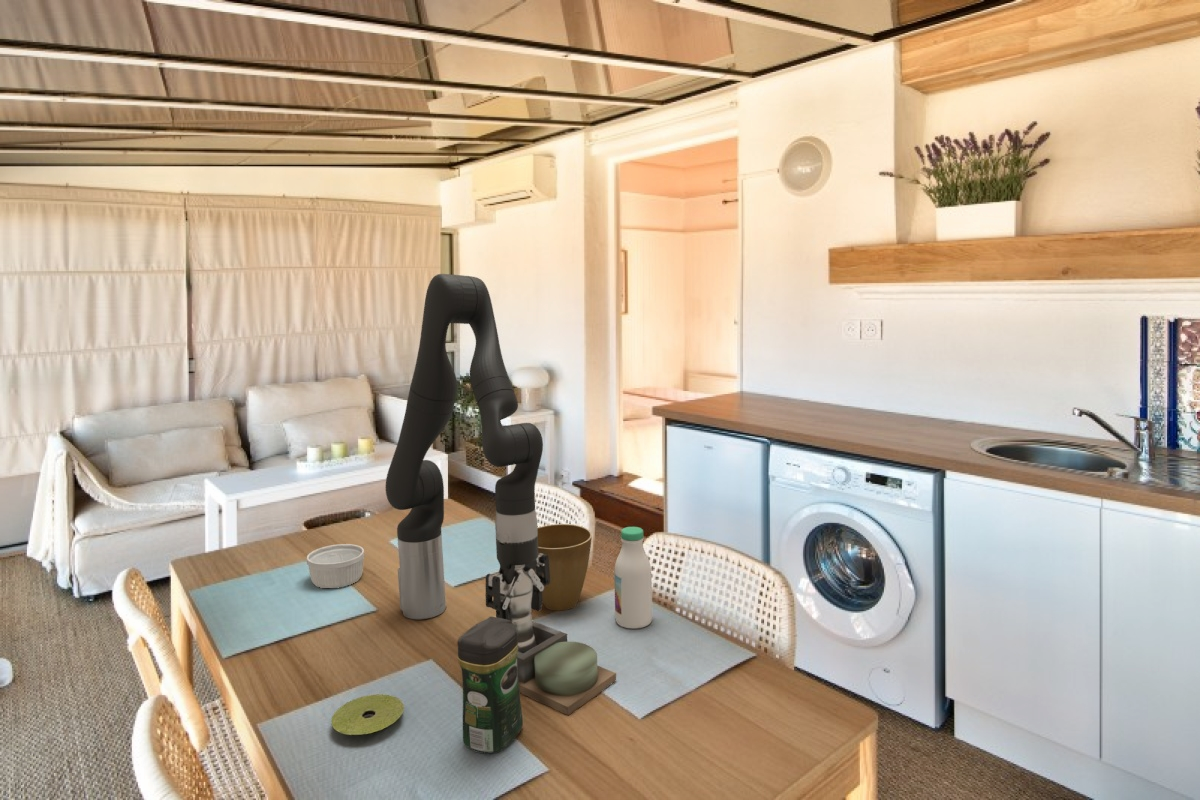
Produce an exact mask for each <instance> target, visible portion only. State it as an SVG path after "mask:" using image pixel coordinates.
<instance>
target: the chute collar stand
mask: <svg viewBox="0 0 1200 800" xmlns="http://www.w3.org/2000/svg"><path fill="white" fill-rule="evenodd" d="M532 626H533V634H534V636H535V640H536V646H535V647H534V648H532V649H530V650H528V651H527V652H525V653H521V652H518V653H517V672H518V683H519V693H520V694H521V695H524V696H526V697H528V698H530V699H533V700H535V701H537V702H538V703H541V704H543V705H545V706H547V707H549V708H552V709H554V710H556V711H558V712H561V713H562V714H564V715H567V716H570V715H571V714H572V713H573V712H575V711H577V710H578V709H579V708H581V707H582V706H583V705H585V704H586V703H587V702H589V701H590V700H592V699H593V698H594V697H596V696H597V695H599V694H600V693H601V692H603V691H605V688H606V687H607V686H608V687H610V686H611V685H612V684H614V683H615V682H616V681H617V672H615V671H612V670H609V669H608V668H607V669H606V668H605V667H602V666H599V665H598V653H597V651H596V649H594V648H593V647H592V646H591V645H588V644H586V643H583V642H580V641H579V642H578V641H568V633H566V632H563V631H561V630H557V629H555V628H552V627H550V626H547V625H544V624H542V623H539V622H537V621H534V620H532ZM615 680H616V681H615ZM614 681H615V682H614ZM613 682H614V683H613ZM611 683H612V684H611ZM610 684H611V685H610ZM609 685H610V686H609ZM608 687H607V688H608ZM607 688H606V689H607ZM602 690H603V691H602Z"/></svg>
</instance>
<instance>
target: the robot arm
mask: <svg viewBox="0 0 1200 800" xmlns="http://www.w3.org/2000/svg"><path fill="white" fill-rule="evenodd" d="M423 306H424V308H423V312H422V313H423V314H422V321H421V322H422V323H421V332H420V339H419V346H418V351H417V354H416V355H417V357H416V360H415V361H416V362H415V365H414V371H413V375H412V379H411V383H410V386H409V390H408V391H409V392H408V396H407V401H406V406H405V413H404V417H403V420H402V425H401V429H400V433H399V436H398V440H397V444H396V448H395V451H394V453H393V455H392V459H391V462H390V465H389V468H388V471H387V474H386V479H385V495H386V498H387V500H388V503H389V504H390V506H391V507H392V508H394V509H396V510H399V511H404V510H405V511H406V510H409V512H408V514H407V515H406V516H405V517H403V519H402V520H401V521H400V522H399V523H398V524H397V527H396V529H397V530H396V533H397V534H396V535H397V548H398V549H397V550H398V562H399V568H398V569H397V578H398V579H397V580H398V581H397V582H398V595H399V608H400V610H401V611H402V615H403V616H404V617H405V618H407V619H411V620H428V619H431V618H434V617H437V616H439V615H441V614H442V613H444V612H445V611H446V608H447V605H446V603H447V601H446V588H445V587H446V586H445V585H446V584H445V571H444V570H445V569H444V552H443V550H444V549H443V537H442V536H443V535H442V526H443V523H444V520H445V519H444V516H445V491H444V489H445V487H444V486H445V485H444V478H443V475H442V474H443V473H442V471H441V470H440V468H439V466H438V465H437V464H436V463H435V462H434V461H432V460H429V459H425V457H426V455H427V453H428V451H429V450H430V448H431V447H432V446H433V444H434V443H435V441H436V440H437V439H438V437H439V436H440V434H441V433H442V432H443V431H444V429H445V428H446V426H447V424H448V423H449V421H450V419H451V418H452V415H453V410H454V407H455V404H456V399H457V396H458V391H459V388H458V386H459V385H458V384H459V383H458V379H457V375H456V374H455V370H454V368H453V366H452V363H451V361H450V359H449V355H448V352H447V347H446V346H447V345H446V344H447V333H448V329H449V326H450V324H460V325H469V326H470V328H471V330H472V333H473V335H474V338H475V347H474V350H473V351H474V352H473V356H472V359H471V362H470V367H469V381H470V387H471V390H472V393H473V396H474V398H475V401H476V404H477V407H478V410H479V415H480V416H479V417H480V424H481V434H482V435H481V442H482V452H483V455H484V458H485V459H486V460H487V462H488V463H489V464H490V465H492V466H494V467H497V468H503V467H508V466H514V465H515V466H514V468H513V470H512V471H511V472H510V473H508V474H506V475H504V476H502V477H501V478H499V479H498V480H497V481H496V482H495V485H494V489H495V490H494V491H495V492H494V496H495V497H494V499H495V519H494V520H495V521H494V524H495V547H496V549H495V551H496V559H497V561H498V564H499V569H498V572H496V573H494V574H490V573H487V574H486V575H485V606H486V607H487V608H489V609H493V610H494V611H495V617H497V618H502V619H507V620H509V612H508V608H507V607H508V604H509V602H510V599H511V598H513V597H514V595H513V591H514V587H515V584H516V582H519V581H520V580H521V579H522V578H523V573H520V572H517V570H515V566H517V565H525V567H524V568H523V570H524V571H525V572H526V573H527V574H528V575H529V577H530V578H531V579H532V582H533V592H532V602H531V610H533V611H537V612H539V611H541V610H543V609H542V608H543V607H542V606H543V605H544V603H543V598H542V591H543V590H544V586H545V585H549V584H550V570H549V557H548V555H545V554H542V553H538V531H537V528H538V518H537V513H536V512H537V511H536V498H535V497H536V496H535V493H536V492H535V489H536V488H535V487H536V483H537V477H538V471H539V469H540V464H541V460H542V456H543V452H544V450H543V449H544V448H543V447H544V442H543V437H542V433H541V432H540V429H539V428H538V427H537V426H536V425H535V424H534V423H531V422H520V423H516V424H507V425H503V424H502V422H501V421H502V420H505V419H507V418H509V417H511V416H512V415H513V414H514V413H516V412H517V411H518V408H519V402H518V399H517V395H516V393H515V390H514V387H513V384H512V382H511V379H510V376H509V374H508V372H507V368H506V366H505V362H504V358H503V355H502V350H501V345H500V339H499V333H498V329H497V328H498V327H497V324H496V323H497V322H496V319H495V312H494V308H493V303H492V299H491V295H490V292H489V289H488V287H487V285H486V283H485V282H484V280H482V279H481V278H480V277H476V276H469V275H463V274H462V275H459V274H450V273H448V274H447V273H438V274H436V275H434V276H433V277H432V278H431V280H430V281H429V284H428V287H427V290H426V293H425V298H424V305H423ZM535 569H536V574H535ZM542 573H543V574H544V577H543V574H542ZM514 577H515V578H514ZM513 579H514V582H513V584H512V586H511V588H510V590H509V591H501V590H500V586H501V585H502V583H501V581H502V582H504V581H505V582H506V583H507V584H511V583H512V581H513ZM501 594H504V595H505V597H504V600H503V602H502V601H501V600H502V597H501Z"/></svg>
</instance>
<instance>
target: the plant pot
mask: <svg viewBox="0 0 1200 800" xmlns="http://www.w3.org/2000/svg"><path fill="white" fill-rule="evenodd" d="M537 531H538V553H542V554H545V555H548V557H549V570H550V584H549V585H545V586H544V590H543V591H542V598H543V605H544V607H545V608H546V609H548V610H550V611H554V612H555V611H559V612H560V611H568V610H571V609H573V608H574V607H576V606H577V604H578V602H579V599H580V596H581V593H582V590H583V588H584V583H585V580H586V576H587V571H588V567H589V562H590V561H589V560H590V555H591V546H592V538H593V534H592V532H591V531H590V530H589V529H588V528H586V527H585V526H581V525H577V524H572V523H571V524H570V523H559V524H558V523H556V524H548V525H547V524H546V525H542V526H539V527H538V526H537ZM535 574H536V569H535ZM542 574H543V573H542ZM543 577H544V574H543Z"/></svg>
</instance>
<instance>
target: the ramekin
mask: <svg viewBox="0 0 1200 800" xmlns="http://www.w3.org/2000/svg"><path fill="white" fill-rule="evenodd" d="M364 558H365V550H364V548H363V547H362V546H360V545H358V544H357V545H356V544H351V543H339V544H332V545H326V546H323V547H320V548H317V549H314V550H313V551H310V553H308V554H307V556H306V565H307V567H308V571H309V576H310V580H311V582H312V584H313V585H314V586H316V588H319V587H320V588H319V589H322V588H337V589H339V588H338V587H342V588H344V587H343V586H346V587H348V586H347V585H349V586H352V585H354V584H355V582H356V583H357V582H358V581H359V580H360V579H361V578H362V575H363V573H364V571H363V569H364ZM353 583H354V584H353ZM351 584H352V585H351Z"/></svg>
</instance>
